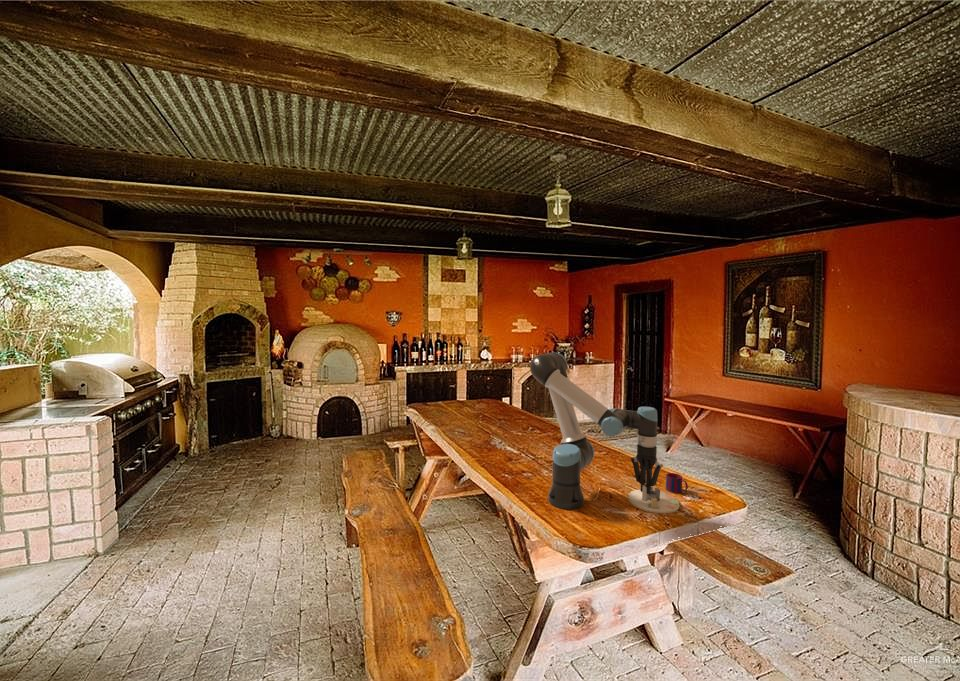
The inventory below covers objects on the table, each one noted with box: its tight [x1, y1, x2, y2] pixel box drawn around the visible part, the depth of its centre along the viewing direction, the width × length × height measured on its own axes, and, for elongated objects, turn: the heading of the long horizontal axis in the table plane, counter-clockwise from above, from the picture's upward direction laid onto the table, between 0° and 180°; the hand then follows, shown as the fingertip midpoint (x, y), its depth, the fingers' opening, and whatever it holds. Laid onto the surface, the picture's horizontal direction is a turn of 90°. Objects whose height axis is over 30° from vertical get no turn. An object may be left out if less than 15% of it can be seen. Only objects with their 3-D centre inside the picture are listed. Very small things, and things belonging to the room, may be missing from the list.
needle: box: [649, 486, 661, 508], centre depth 176 cm, size 12×5×4 cm, turn 158°
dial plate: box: [628, 488, 680, 514], centre depth 179 cm, size 20×20×2 cm
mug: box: [665, 472, 689, 494], centre depth 190 cm, size 7×10×7 cm
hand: (645, 500), depth 175 cm, fingers closed
